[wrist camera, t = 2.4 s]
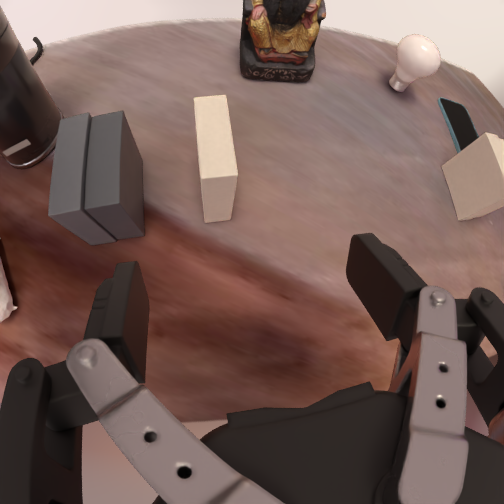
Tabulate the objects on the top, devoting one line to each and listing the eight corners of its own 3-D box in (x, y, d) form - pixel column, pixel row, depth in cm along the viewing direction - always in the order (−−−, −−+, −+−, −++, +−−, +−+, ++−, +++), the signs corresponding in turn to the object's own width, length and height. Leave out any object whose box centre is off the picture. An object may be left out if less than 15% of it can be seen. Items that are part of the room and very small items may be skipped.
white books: (458, 220, 34) (509, 195, 25) (440, 166, 36) (485, 132, 26) (481, 218, 35) (529, 195, 26) (465, 167, 37) (507, 137, 27)
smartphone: (464, 105, 40) (495, 181, 36) (461, 108, 41) (491, 183, 38) (437, 95, 39) (468, 176, 36) (433, 99, 40) (464, 179, 37)
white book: (204, 223, 30) (200, 179, 21) (197, 157, 32) (193, 97, 22) (230, 220, 31) (238, 175, 21) (222, 154, 32) (226, 94, 22)
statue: (233, 80, 35) (252, -59, 15) (237, 43, 36) (254, -77, 17) (326, 92, 36) (385, -28, 17) (320, 55, 38) (365, -53, 18)
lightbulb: (392, 69, 39) (423, 24, 29) (419, 98, 39) (455, 56, 28) (368, 77, 38) (400, 26, 27) (397, 108, 37) (436, 60, 27)
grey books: (91, 245, 28) (47, 216, 19) (93, 167, 30) (60, 119, 21) (145, 238, 29) (117, 203, 20) (142, 158, 31) (122, 104, 22)
